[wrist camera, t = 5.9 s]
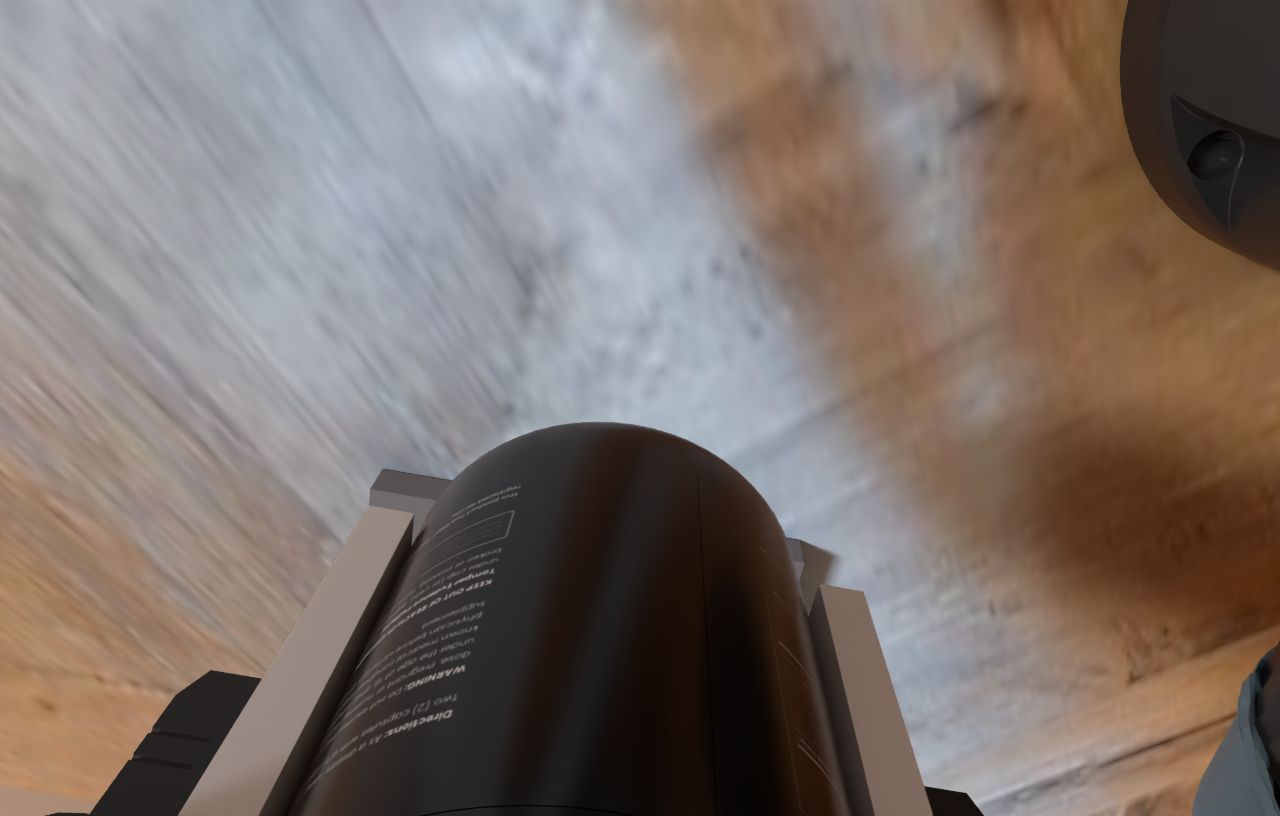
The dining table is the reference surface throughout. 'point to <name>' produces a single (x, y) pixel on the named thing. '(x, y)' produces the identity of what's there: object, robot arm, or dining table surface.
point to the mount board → (425, 491)
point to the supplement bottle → (587, 648)
